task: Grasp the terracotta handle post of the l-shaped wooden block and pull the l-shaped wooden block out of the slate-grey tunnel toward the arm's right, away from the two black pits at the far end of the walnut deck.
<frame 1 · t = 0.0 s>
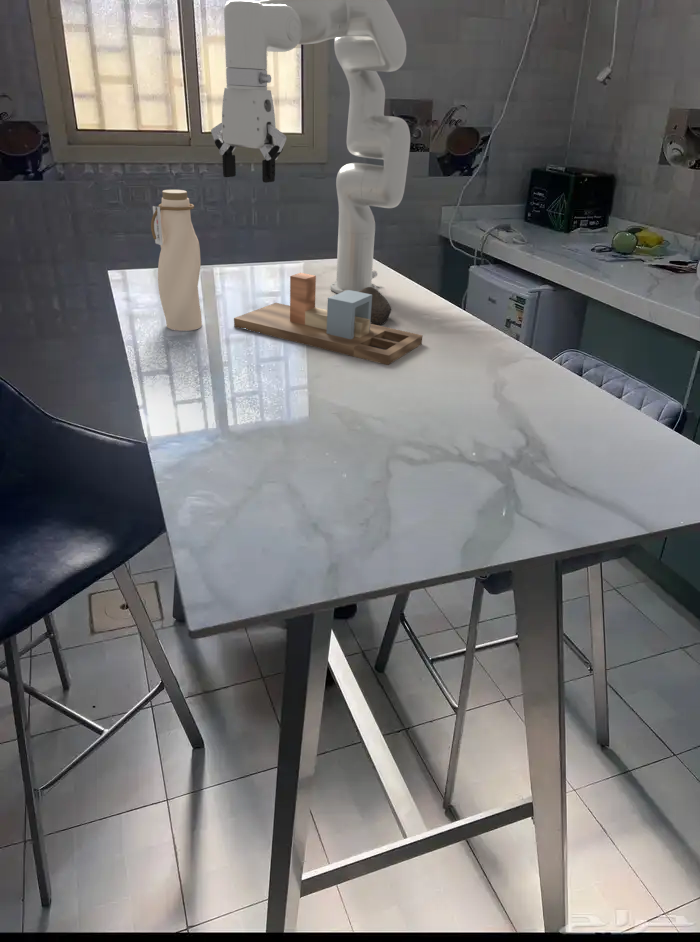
hand: (248, 179, 136), 31 cm above the table, fingers open, 9 cm apart
water bottle: (182, 327, 152), on the table
stone: (369, 320, 164), on the table
tunnel: (348, 340, 149), resting on deck
l-shaped wooden block: (329, 304, 148), point 7 cm above the table, slide at 0.0 cm
deck: (344, 339, 150), on the table
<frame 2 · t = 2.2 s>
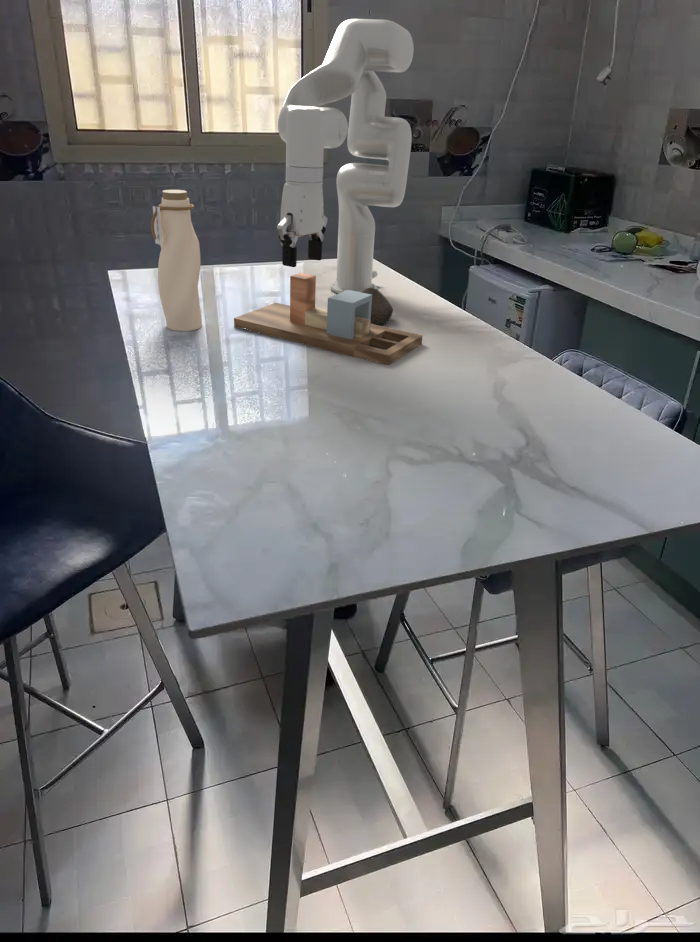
hand: (302, 262, 146), 15 cm above the table, fingers open, 9 cm apart
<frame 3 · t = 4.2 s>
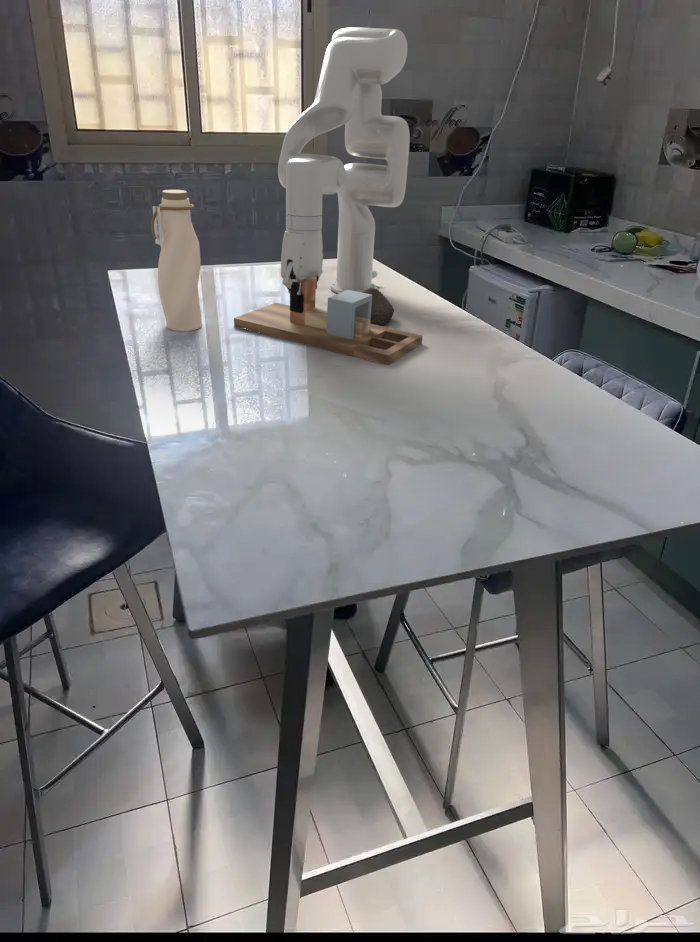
hand: (302, 308, 152), 5 cm above the table, fingers closed on l-shaped wooden block, 4 cm apart
l-shaped wooden block: (329, 304, 148), point 7 cm above the table, slide at 0.0 cm, touching gripper
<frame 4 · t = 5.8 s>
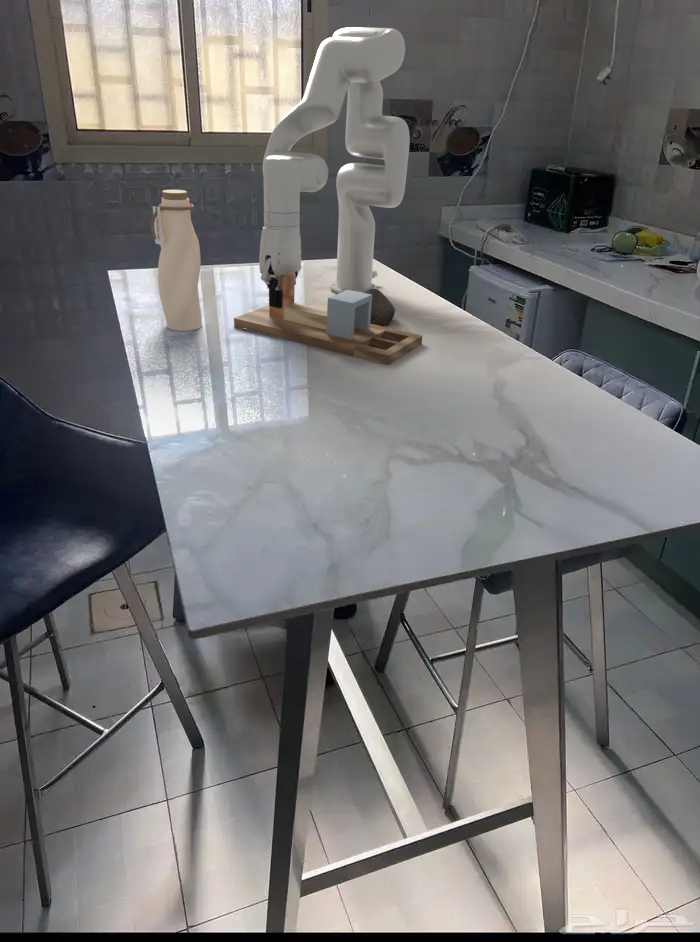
hand: (281, 303, 154), 5 cm above the table, fingers closed on l-shaped wooden block, 4 cm apart
l-shaped wooden block: (307, 299, 150), point 7 cm above the table, slide at 5.6 cm, touching gripper
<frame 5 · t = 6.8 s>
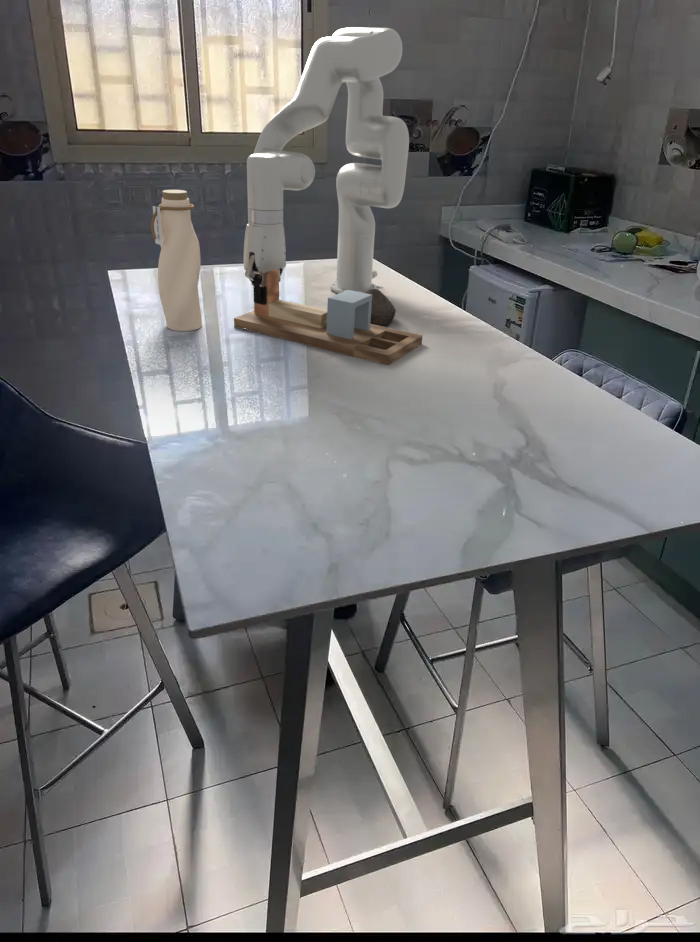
hand: (266, 300, 156), 5 cm above the table, fingers closed on l-shaped wooden block, 4 cm apart
l-shaped wooden block: (291, 296, 152), point 7 cm above the table, slide at 9.9 cm, touching gripper
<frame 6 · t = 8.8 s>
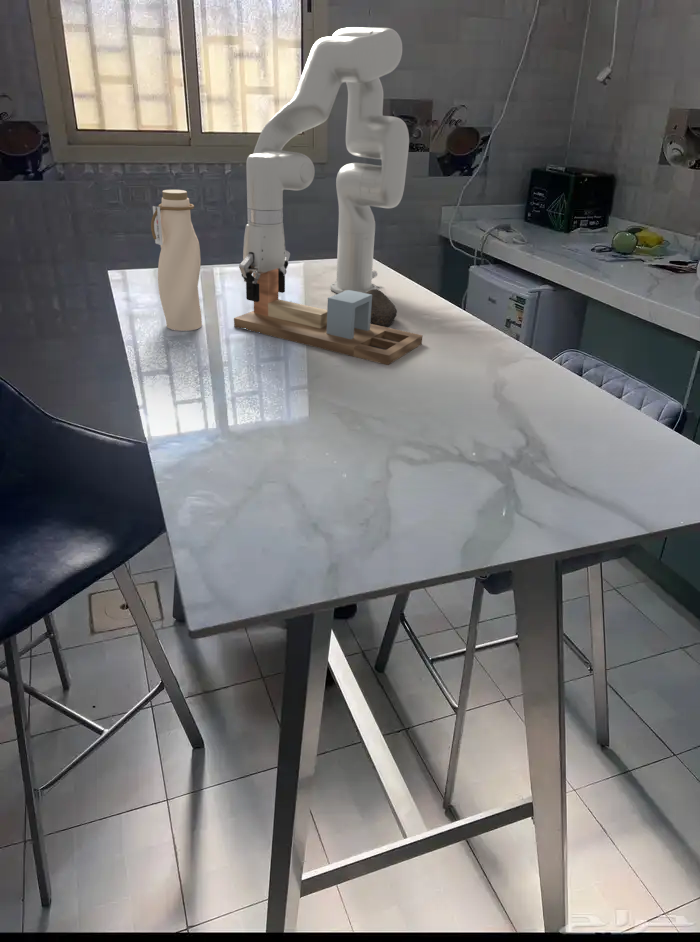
hand: (266, 296, 156), 6 cm above the table, fingers open, 9 cm apart
l-shaped wooden block: (291, 296, 152), point 7 cm above the table, slide at 10.0 cm
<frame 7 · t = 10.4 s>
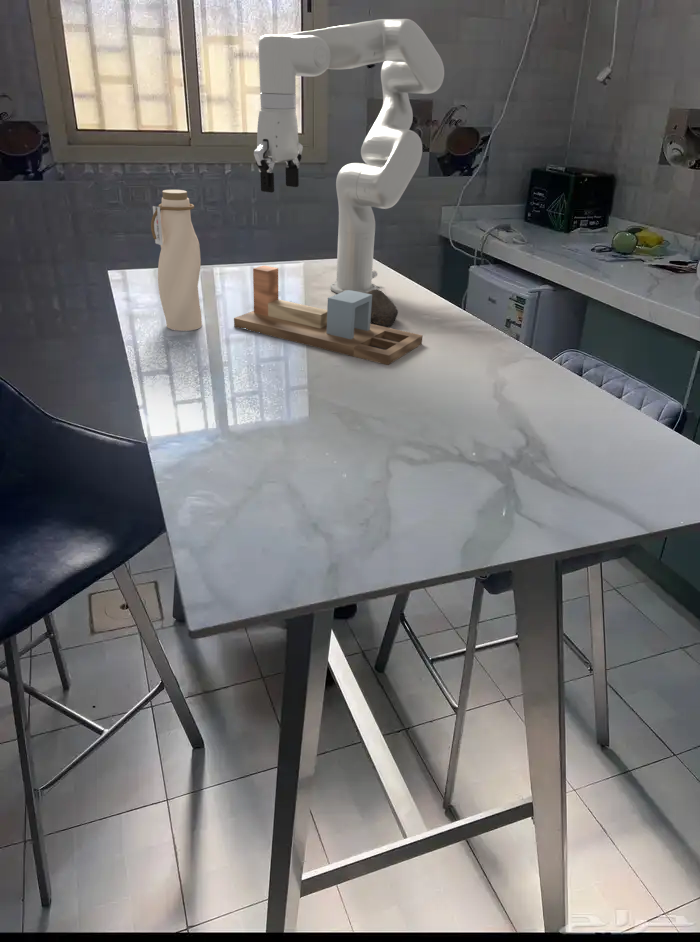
hand: (280, 189, 155), 27 cm above the table, fingers open, 9 cm apart
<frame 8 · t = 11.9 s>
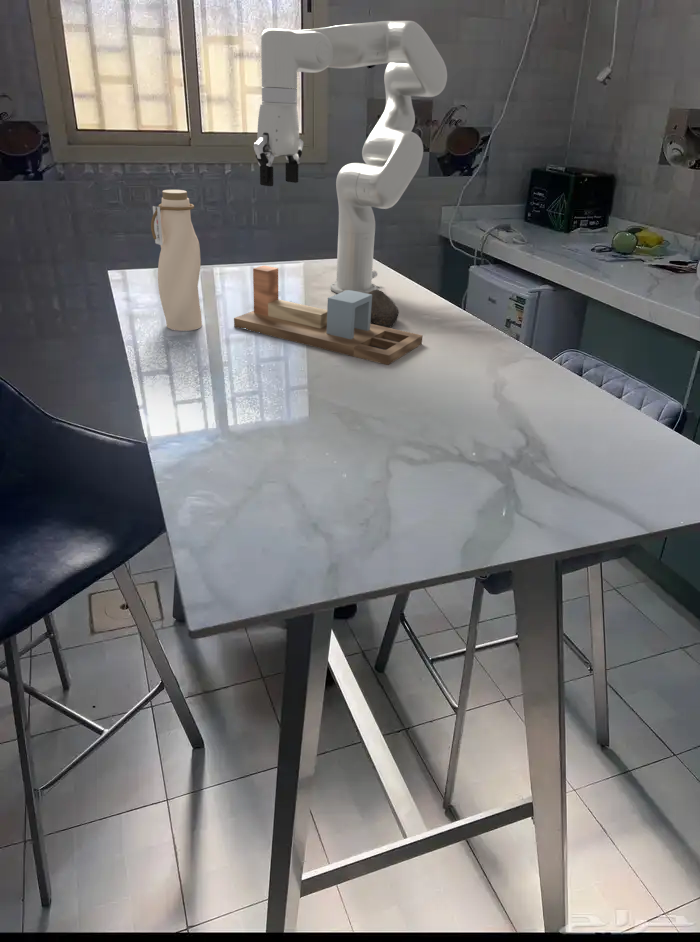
hand: (279, 183, 155), 28 cm above the table, fingers open, 9 cm apart
at the end: l-shaped wooden block slide at 10.0 cm; l-shaped wooden block 0.2 cm from the target spot, point 7.0 cm above the table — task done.
